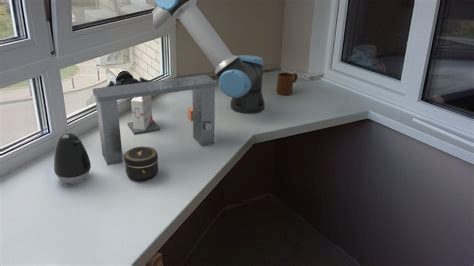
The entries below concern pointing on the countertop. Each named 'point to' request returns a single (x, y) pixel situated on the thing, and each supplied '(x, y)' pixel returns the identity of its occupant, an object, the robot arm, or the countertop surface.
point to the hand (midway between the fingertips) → (137, 94)
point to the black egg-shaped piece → (71, 159)
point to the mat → (150, 128)
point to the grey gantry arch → (109, 95)
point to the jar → (141, 163)
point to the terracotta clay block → (190, 117)
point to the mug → (285, 83)
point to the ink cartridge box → (141, 112)
